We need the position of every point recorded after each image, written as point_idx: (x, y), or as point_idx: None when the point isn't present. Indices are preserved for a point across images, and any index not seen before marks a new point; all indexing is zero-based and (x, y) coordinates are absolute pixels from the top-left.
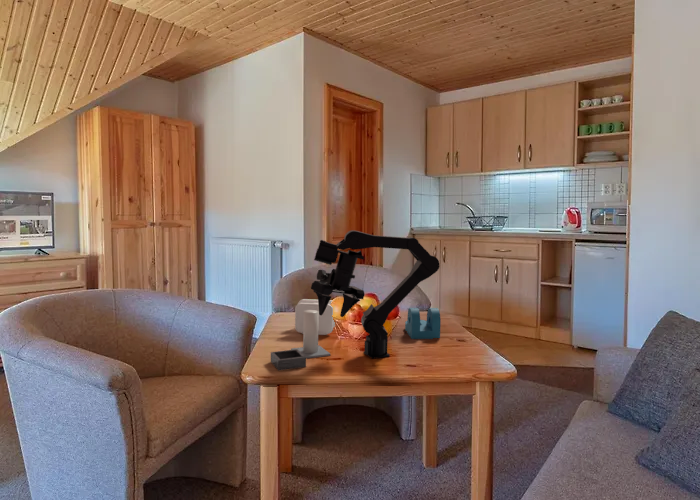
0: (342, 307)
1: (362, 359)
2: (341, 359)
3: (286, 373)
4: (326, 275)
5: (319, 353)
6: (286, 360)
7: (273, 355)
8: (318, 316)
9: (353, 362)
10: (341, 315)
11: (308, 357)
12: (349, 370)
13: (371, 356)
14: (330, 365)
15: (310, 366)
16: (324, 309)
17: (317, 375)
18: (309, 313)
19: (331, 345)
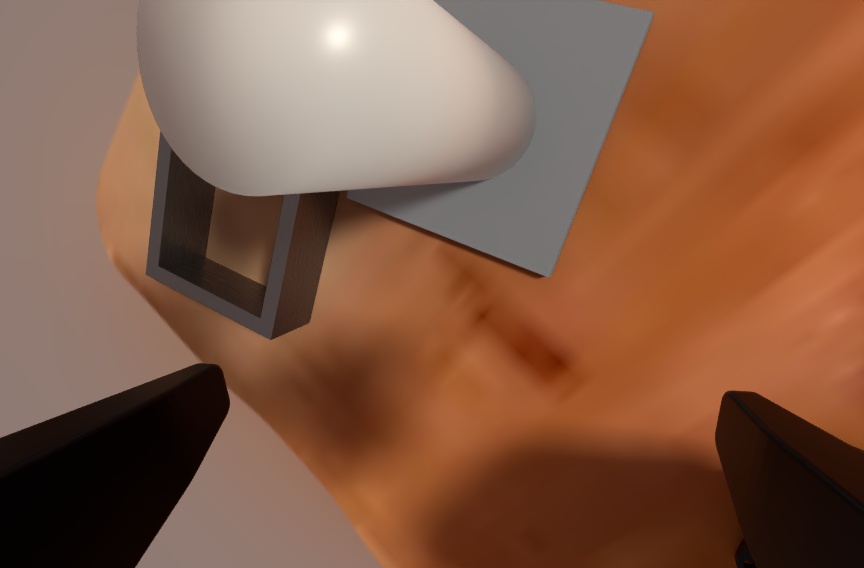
0: (852, 525)
1: (667, 501)
2: (550, 388)
3: (205, 320)
4: None
5: (489, 216)
6: (183, 291)
7: (156, 178)
8: (369, 164)
9: (566, 484)
10: (724, 432)
11: (396, 215)
12: (447, 534)
13: (745, 554)
14: (421, 406)
15: (331, 334)
16: (142, 528)
17: (291, 446)
18: (171, 147)
19: (799, 40)
